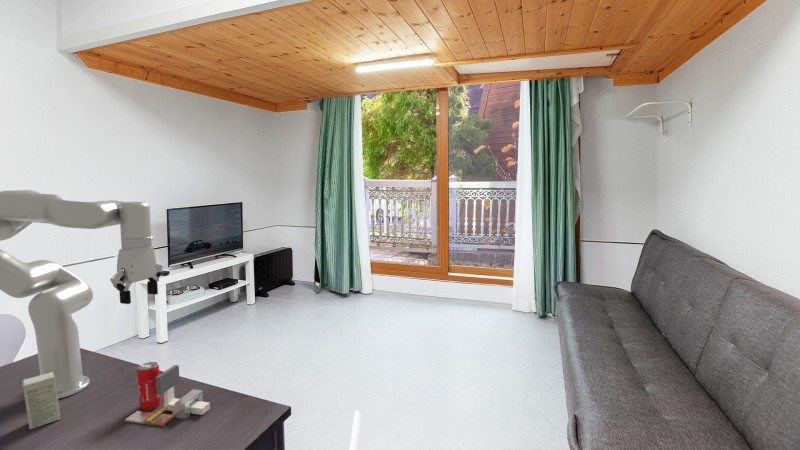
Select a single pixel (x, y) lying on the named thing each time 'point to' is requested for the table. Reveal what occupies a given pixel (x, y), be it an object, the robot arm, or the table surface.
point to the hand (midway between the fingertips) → (139, 298)
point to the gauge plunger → (166, 386)
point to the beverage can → (148, 385)
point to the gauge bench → (178, 410)
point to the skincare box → (41, 400)
